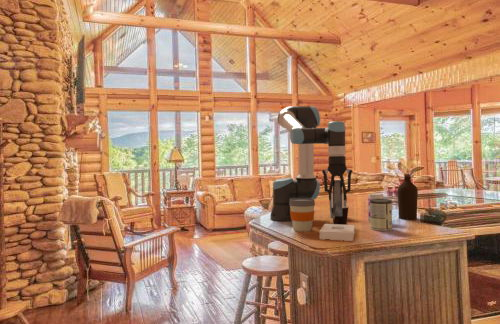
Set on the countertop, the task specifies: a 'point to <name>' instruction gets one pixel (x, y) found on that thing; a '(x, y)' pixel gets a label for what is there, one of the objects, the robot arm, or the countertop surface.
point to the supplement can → (371, 196)
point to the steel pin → (337, 198)
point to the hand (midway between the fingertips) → (337, 207)
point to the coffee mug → (341, 217)
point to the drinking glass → (331, 209)
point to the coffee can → (381, 214)
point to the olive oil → (407, 199)
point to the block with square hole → (337, 232)
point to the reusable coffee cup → (302, 213)
